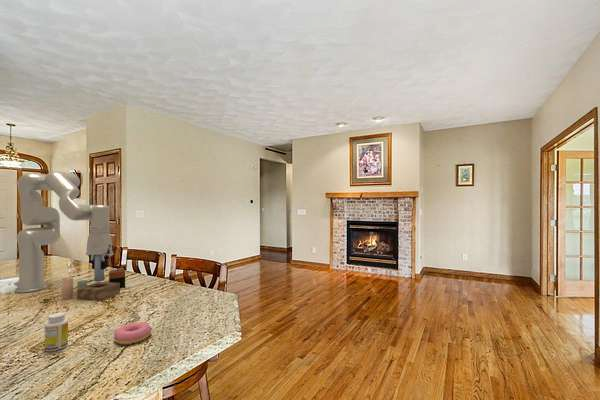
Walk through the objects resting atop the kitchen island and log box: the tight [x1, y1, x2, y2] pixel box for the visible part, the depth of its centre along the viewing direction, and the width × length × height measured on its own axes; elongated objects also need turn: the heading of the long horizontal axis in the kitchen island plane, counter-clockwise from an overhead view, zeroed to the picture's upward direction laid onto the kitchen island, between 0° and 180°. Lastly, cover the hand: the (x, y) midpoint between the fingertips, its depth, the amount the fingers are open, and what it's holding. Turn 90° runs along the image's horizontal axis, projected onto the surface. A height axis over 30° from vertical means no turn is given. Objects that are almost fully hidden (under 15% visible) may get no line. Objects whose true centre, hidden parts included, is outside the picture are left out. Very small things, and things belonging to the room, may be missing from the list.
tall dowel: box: [93, 255, 105, 283], centre depth 141 cm, size 4×4×14 cm
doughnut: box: [113, 321, 152, 345], centre depth 97 cm, size 11×11×4 cm
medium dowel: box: [61, 277, 74, 301], centre depth 137 cm, size 4×4×9 cm
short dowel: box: [76, 279, 88, 290], centre depth 145 cm, size 4×4×6 cm
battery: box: [108, 267, 126, 289], centre depth 155 cm, size 4×7×10 cm, turn 133°
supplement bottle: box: [44, 312, 69, 352], centre depth 91 cm, size 6×6×10 cm
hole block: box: [76, 281, 121, 302], centre depth 141 cm, size 12×12×5 cm
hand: (99, 268), depth 141 cm, fingers closed on tall dowel, 4 cm apart
